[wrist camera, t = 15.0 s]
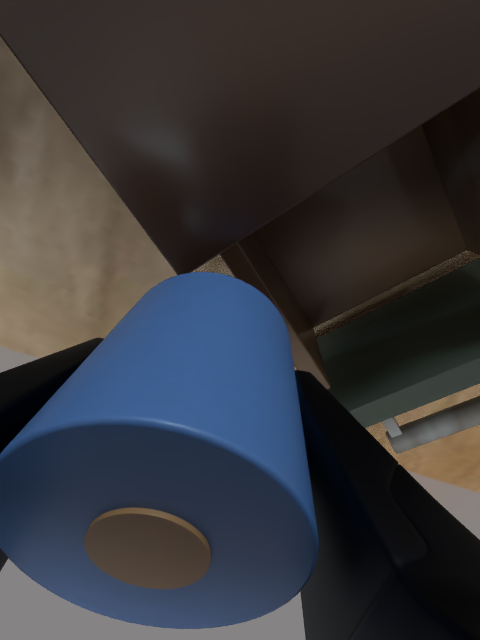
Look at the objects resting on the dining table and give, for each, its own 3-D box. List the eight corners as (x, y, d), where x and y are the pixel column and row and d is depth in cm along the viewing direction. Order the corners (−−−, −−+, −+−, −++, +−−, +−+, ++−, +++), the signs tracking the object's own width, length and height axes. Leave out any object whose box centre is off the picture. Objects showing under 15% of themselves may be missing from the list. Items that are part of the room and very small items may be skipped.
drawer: (521, 337, 19) (642, 419, 13) (341, 411, 22) (370, 505, 16) (414, 18, 13) (541, -103, 7) (192, 181, 17) (150, 193, 10)
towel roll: (273, 423, 11) (280, 655, 6) (128, 399, 11) (7, 611, 6) (308, 286, 9) (369, 463, 4) (127, 257, 9) (-68, 392, 4)
